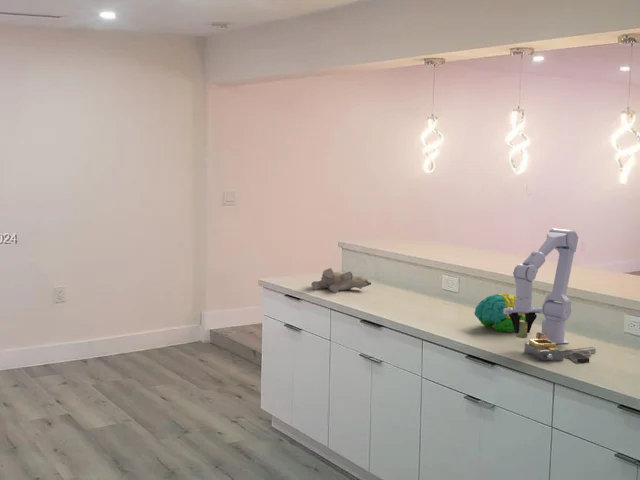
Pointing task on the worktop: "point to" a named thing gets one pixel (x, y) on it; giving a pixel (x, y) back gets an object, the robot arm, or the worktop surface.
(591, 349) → the handgun
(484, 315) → the brain model
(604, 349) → the worktop surface
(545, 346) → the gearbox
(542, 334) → the copper can
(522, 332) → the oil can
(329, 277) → the animal model
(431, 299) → the worktop surface
